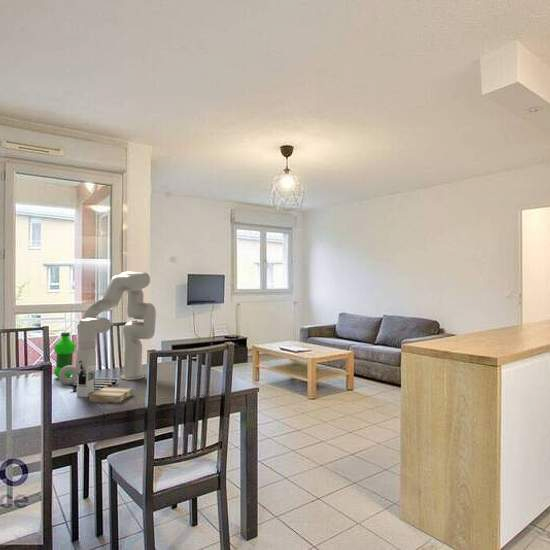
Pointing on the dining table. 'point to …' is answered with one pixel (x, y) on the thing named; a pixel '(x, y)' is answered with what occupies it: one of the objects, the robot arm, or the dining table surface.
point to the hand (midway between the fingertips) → (85, 382)
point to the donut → (64, 378)
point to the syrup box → (87, 382)
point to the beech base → (110, 394)
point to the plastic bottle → (64, 353)
